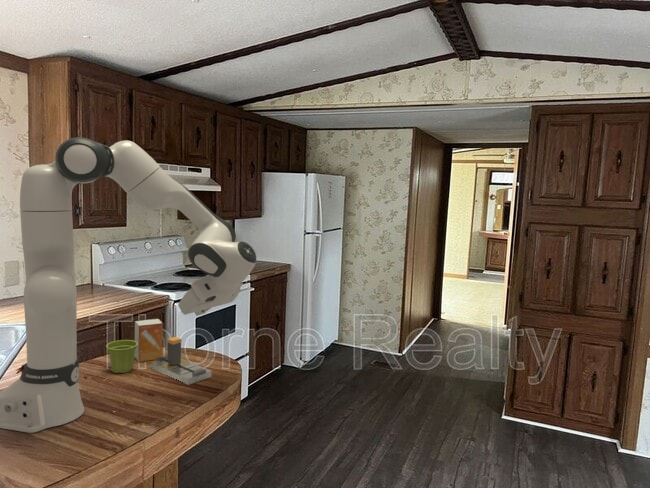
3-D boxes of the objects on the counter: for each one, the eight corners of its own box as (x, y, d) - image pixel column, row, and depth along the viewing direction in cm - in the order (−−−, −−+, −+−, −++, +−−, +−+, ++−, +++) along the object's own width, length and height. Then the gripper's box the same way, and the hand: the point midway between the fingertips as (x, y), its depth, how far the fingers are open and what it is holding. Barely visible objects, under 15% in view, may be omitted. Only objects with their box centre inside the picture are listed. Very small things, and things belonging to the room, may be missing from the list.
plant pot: (143, 369, 156) (143, 343, 155) (118, 378, 148) (117, 351, 147) (126, 362, 161) (126, 338, 160) (100, 371, 153) (100, 345, 152)
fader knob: (181, 363, 156) (181, 338, 155) (172, 365, 154) (173, 341, 153) (175, 360, 158) (175, 336, 157) (167, 363, 156) (167, 338, 155)
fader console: (212, 377, 151) (212, 367, 151) (188, 385, 144) (188, 375, 144) (173, 361, 164) (173, 352, 164) (150, 368, 157) (150, 359, 156)
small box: (138, 362, 161) (138, 325, 160) (134, 357, 166) (134, 320, 165) (162, 359, 166) (163, 322, 164) (158, 353, 171) (158, 318, 170)
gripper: (239, 272, 150) (218, 298, 156) (188, 282, 133) (167, 311, 139) (250, 288, 148) (228, 314, 154) (199, 300, 131) (177, 329, 138)
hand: (199, 313), depth 147 cm, fingers closed
